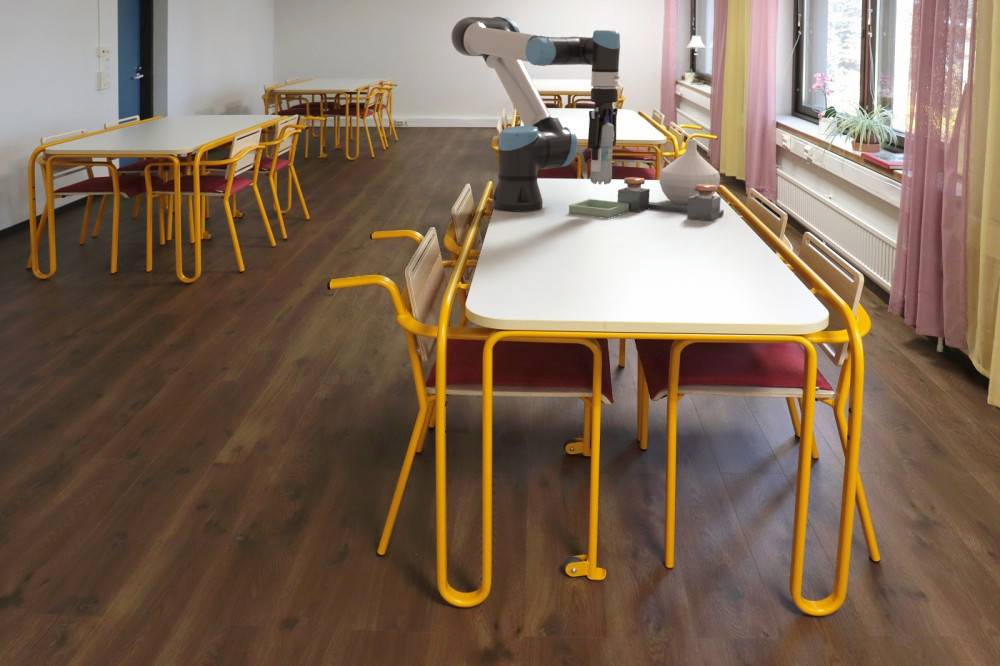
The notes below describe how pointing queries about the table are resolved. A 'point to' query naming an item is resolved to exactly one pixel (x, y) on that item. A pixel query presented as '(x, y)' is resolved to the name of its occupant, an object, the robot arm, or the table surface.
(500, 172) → the robot arm
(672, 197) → the vase
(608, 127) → the bottle
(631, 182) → the plunger left
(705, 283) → the table surface
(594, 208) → the tray
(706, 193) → the plunger right
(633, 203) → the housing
